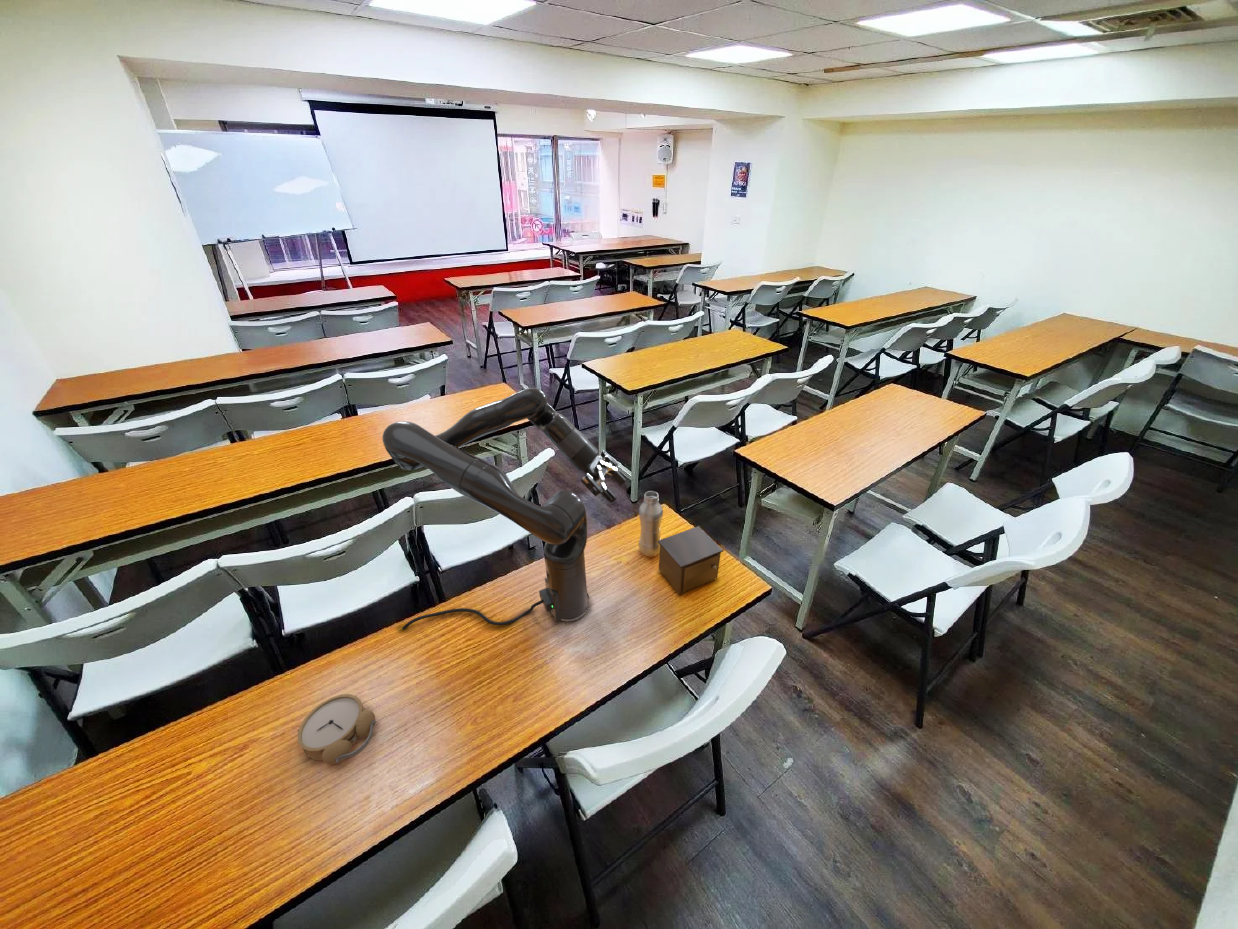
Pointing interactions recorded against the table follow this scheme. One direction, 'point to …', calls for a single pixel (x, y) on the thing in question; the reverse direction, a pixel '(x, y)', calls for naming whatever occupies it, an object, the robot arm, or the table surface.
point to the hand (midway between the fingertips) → (619, 491)
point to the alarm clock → (336, 729)
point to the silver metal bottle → (650, 524)
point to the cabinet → (689, 559)
